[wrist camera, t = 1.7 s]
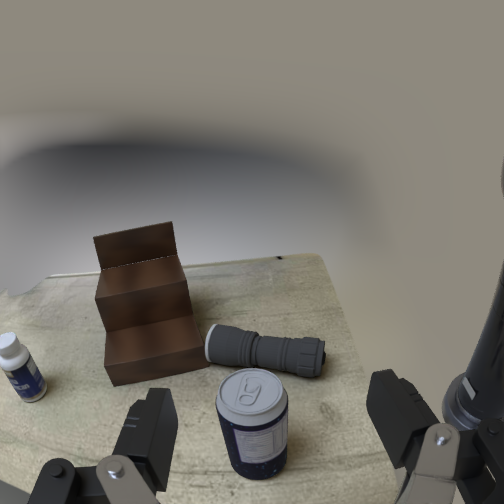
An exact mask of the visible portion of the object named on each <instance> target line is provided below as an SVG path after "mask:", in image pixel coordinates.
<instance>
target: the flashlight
mask: <svg viewBox="0 0 504 504" xmlns="http://www.w3.org/2000/svg"><path fill="white" fill-rule="evenodd" d="M324 347H325V341H320V339H319V338H311V337H304V338H302V339H300V338H294V339H291V338H286V337H284V338H279V337H271V336H263V337H262V336H259V334H258V333H257V332H253V331H244V330H242V329H239V328H237V327H232V326H225V325H219V324H214V325H213V326H212V327H211V328H210V330H209V332H208V334H207V338H206V343H205V355H206V359H207V360H208V361H209V362H213V363H218V364H223V365H228V366H234V365H241V366H245V367H249V368H251V367H253V366H254V365H259V366H260V367H266V368H273V369H278V370H280V371H282V370H283V371H289V372H291V373H297V374H298V375H299V376H305V377H314V376H320V374H321V369H322V366H323V365H324V363H325V357H326V353H325V352H324Z"/></svg>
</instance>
